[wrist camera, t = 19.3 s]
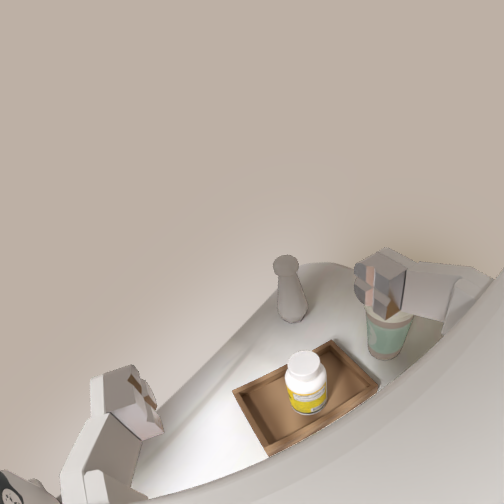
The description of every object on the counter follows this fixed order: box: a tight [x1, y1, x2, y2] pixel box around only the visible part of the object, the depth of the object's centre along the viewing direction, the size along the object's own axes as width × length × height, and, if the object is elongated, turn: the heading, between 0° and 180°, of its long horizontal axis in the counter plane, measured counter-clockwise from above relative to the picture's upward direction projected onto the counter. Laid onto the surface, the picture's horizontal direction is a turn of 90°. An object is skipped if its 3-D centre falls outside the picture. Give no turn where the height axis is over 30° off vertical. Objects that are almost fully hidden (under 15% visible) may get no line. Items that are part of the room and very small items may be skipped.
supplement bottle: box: [285, 350, 327, 415], centre depth 35 cm, size 5×5×10 cm
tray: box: [232, 340, 378, 457], centre depth 38 cm, size 18×12×2 cm, turn 115°
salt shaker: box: [273, 255, 308, 324], centre depth 52 cm, size 6×6×13 cm
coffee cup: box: [364, 305, 414, 360], centre depth 40 cm, size 9×9×12 cm
